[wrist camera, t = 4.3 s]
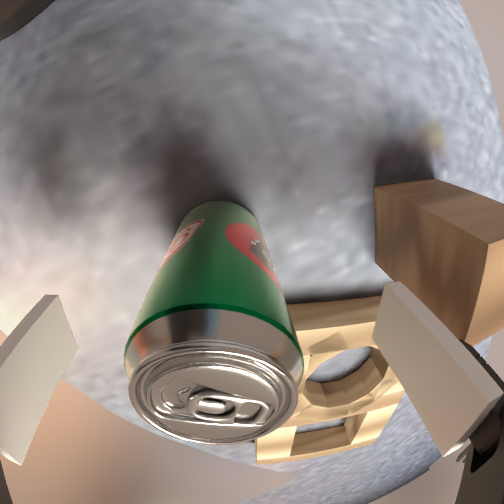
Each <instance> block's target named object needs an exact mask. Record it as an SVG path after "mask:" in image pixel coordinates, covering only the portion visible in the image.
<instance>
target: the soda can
mask: <svg viewBox="0 0 504 504" xmlns="http://www.w3.org/2000/svg"><path fill="white" fill-rule="evenodd" d="M124 365H125V369H126V372H127V375H128V378H129V384H128V390H129V397H130V400H131V403H132V405H133V407H134V408H135V410H136V411H137V413H138V414H139V415H140V416H141V417H142V418H143V419H144V420H145V421H146V422H148V423H149V424H150V425H152V426H153V427H155V428H156V429H158V430H160V431H162V432H163V433H165V434H168V435H170V436H173V437H175V438H178V439H181V440H185V441H189V442H194V443H200V444H209V445H227V444H236V443H242V442H247V441H251V440H254V439H257V438H260V437H263V436H265V435H267V434H270V433H271V432H273V431H275V430H276V429H278V428H279V427H281V426H282V425H283V424H284V423H286V421H287V420H288V419H289V418H290V417H291V416H292V414H293V413H294V411H295V409H296V406H297V403H298V393H299V392H298V386H299V384H300V382H301V380H302V376H303V373H304V358H303V353H302V349H301V346H300V343H299V340H298V337H297V334H296V331H295V328H294V325H293V322H292V319H291V316H290V313H289V311H288V308H287V305H286V302H285V299H284V296H283V293H282V290H281V287H280V284H279V281H278V278H277V275H276V272H275V269H274V267H273V264H272V261H271V258H270V255H269V252H268V249H267V246H266V243H265V241H264V238H263V235H262V232H261V229H260V227H259V224H258V222H257V221H256V219H255V218H254V217H253V215H252V214H251V213H250V212H249V211H247V210H246V209H245V208H243V207H241V206H240V205H238V204H235V203H232V202H228V201H211V202H207V203H204V204H201V205H199V206H197V207H196V208H194V209H193V210H191V211H190V212H189V213H188V214H187V215H186V217H185V218H184V219H183V221H182V223H181V225H180V226H179V228H178V230H177V232H176V234H175V236H174V238H173V240H172V242H171V244H170V246H169V248H168V251H167V253H166V255H165V257H164V259H163V261H162V263H161V265H160V267H159V269H158V272H157V274H156V276H155V278H154V280H153V282H152V285H151V287H150V289H149V291H148V294H147V296H146V298H145V300H144V303H143V305H142V307H141V310H140V312H139V314H138V317H137V319H136V321H135V324H134V326H133V329H132V331H131V333H130V336H129V338H128V341H127V343H126V347H125V352H124Z"/></svg>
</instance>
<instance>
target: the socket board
mask: <svg viewBox="0 0 504 504" xmlns="http://www.w3.org/2000/svg"><path fill="white" fill-rule="evenodd" d="M381 298H382V295H381V296H373V297H364V298H355V299H345V300H335V301H325V302H313V303H301V304H288V305H287V308H288V311H289V313H290V316H291V319H292V322H293V325H294V328H295V331H296V334H297V337H298V340H299V343H300V346H301V349H302V353H303V358H304V373H303V376H302V380H301V382H300V384H299V386H298V392H299V393H298V403H297V406H296V409H295V411H294V413H293V414H292V416H291V417H290V418H289V419H288V420H287V421H286V423H284V424H283V425H282V426H281V427H279V428H278V429H276V430H275V431H273V432H271V433H270V434H267V435H265V436H263V437H260V438H257V439H255V452H256V461H257V465H258V464H269V463H278V462H286V461H294V460H300V459H307V458H312V457H318V456H323V455H328V454H333V453H337V452H341V451H346V450H350V449H354V448H357V447H361V446H365V445H368V444H372V443H374V442H375V440H376V439H377V437H378V436H379V434H380V433H381V431H382V429H383V428H384V426H385V425H386V423H387V421H388V420H389V418H390V417H391V415H392V413H393V411H394V410H395V408H396V406H397V404H398V403H399V401H400V399H401V397H402V395H403V394H404V392H405V390H404V388H403V387H402V385H401V383H400V382H399V380H398V378H397V377H396V375H395V374H394V372H393V370H392V369H391V367H390V366H389V364H388V362H387V361H386V359H385V358H384V356H383V355H382V353H381V351H380V350H379V348H378V347H377V345H376V344H375V342H374V341H373V339H372V334H373V330H374V326H375V322H376V319H377V315H378V310H379V306H380V302H381ZM366 346H371V347H373V349H372V352H371V355H370V357H369V358H368V360H367V361H366V362H365V363H364V364H363V365H362V366H361V367H360V368H359V369H358V370H357V371H355V372H354V373H352V374H350V375H348V376H346V377H344V378H342V379H340V380H337V381H331V382H325V383H317V382H314V381H310V380H306V379H307V378H308V377H309V376H310V375H311V374H312V372H313V371H314V370H315V369H316V368H317V367H318V366H319V365H320V364H321V363H322V362H324V361H326V360H328V359H330V358H331V357H333V356H335V355H337V354H339V353H341V352H343V351H344V350H348V349H354V348H360V347H366ZM344 417H347V418H346V421H345V423H344V425H342V426H337V427H332V428H327V429H322V430H316V431H310V432H304V433H297V434H295V431H296V427H297V426H300V425H306V424H313V423H319V422H324V421H330V420H335V419H340V418H344Z"/></svg>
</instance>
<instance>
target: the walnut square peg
mask: <svg viewBox="0 0 504 504" xmlns="http://www.w3.org/2000/svg"><path fill="white" fill-rule="evenodd" d="M373 188H374V205H375V234H376V264H377V265H378V266H379V267H380V268H381V269H382V270H383V271H384V272H385V273H386V274H387V275H388V276H389V277H390V278H391V279H392V280H393V281H394V282H396V281H400V282H401V283H403V284H404V285H405V286H406V287H407V288H408V289H409V290H410V291H411V292H412V293H413V294H414V295H415V296H416V297H417V298H418V299H419V300H420V301H421V302H422V303H423V304H424V305H425V306H426V307H427V308H428V309H429V310H430V311H431V312H432V313H433V314H434V315H435V316H436V317H437V318H438V319H439V320H440V321H441V322H442V323H443V324H444V325H445V326H446V327H447V328H448V329H449V330H450V331H451V332H452V333H453V334H454V335H455V337H456V338H457V339H462V340H463V341H465V342H467V343H468V344H470V345H471V346H474V345H476V344H478V343H479V342H481V341H483V340H484V339H486V338H488V337H489V336H491V335H493V334H494V333H496V332H497V331H499V330H500V329H502V328H503V327H504V204H502V203H500V202H497V201H495V200H493V199H490V198H488V197H485V196H483V195H480V194H477V193H475V192H472V191H469V190H467V189H464V188H461V187H458V186H455V185H452V184H450V183H447V182H443V181H440V180H437V179H429V180H421V181H413V182H405V183H398V184H390V185H383V186H377V187H373Z"/></svg>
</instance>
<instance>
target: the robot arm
mask: <svg viewBox="0 0 504 504" xmlns="http://www.w3.org/2000/svg"><path fill="white" fill-rule="evenodd" d="M52 1H53V0H0V40H2V39H4V38H6V37H8V36H10V35H11V34H13V33H14V32H16V31H17V30H19V29H20V28H21V27H23V26H24V25H25V24H27V23H28V22H29V21H30V20H32V19H33V18H34V17H35V16H36V15H38V14H39V13H40V12H41V11H42V10H43V9H44V8H45V7H47V6H48V5H49V4H50V3H51V2H52ZM372 339H373V341H374V342H375V344H376V345H377V347H378V348H379V350H380V351H381V353H382V355H383V356H384V358H385V359H386V361H387V362H388V364H389V366H390V367H391V369H392V370H393V372H394V374H395V375H396V377H397V378H398V380H399V382H400V383H401V385H402V387H403V388H404V390H405V392H406V393H407V395H408V397H409V398H410V400H411V402H412V403H413V405H414V407H415V408H416V410H417V412H418V414H419V415H420V417H421V419H422V421H423V422H424V424H425V426H426V428H427V429H428V431H429V433H430V435H431V436H432V438H433V440H434V442H435V444H436V446H437V447H438V449H439V451H440V453H441V455H442V457H444V456H446V455H448V454H450V453H451V452H453V451H455V450H457V449H459V448H460V447H461V446H462V445H463V444H464V443H465V441H466V440H467V439H468V438H469V439H470V440H471V444H470V445H469V446H468V447H467V448H466V449H465V450H464V451H463V452H462V453H461V454H460V455H459V456H458V458H457V460H456V462H459V461H460V460H461V459H462V458H463V457H464V456H465V455H466V454H467V456H466V458H465V459H464V460H463V461H462V462H463V463H465V466H464V471H463V475H462V480H461V484H460V488H459V491H458V495H457V499H456V502H455V504H504V382H503V381H502V380H501V378H500V377H499V376H498V375H497V374H496V373H495V371H494V370H493V369H492V368H491V367H490V366H489V364H486V361H485V360H484V359H483V358H482V357H480V354H479V353H478V352H477V351H476V350H475V349H474V348H473V347H472V346H471V345H470V344H468V343H467V342H465V341H463V340H462V339H457V338H456V337H455V335H454V334H453V333H452V332H451V331H450V330H449V329H448V328H447V327H446V326H445V325H444V324H443V323H442V322H441V321H440V320H439V319H438V318H437V317H436V316H435V315H434V314H433V313H432V312H431V311H430V310H429V309H428V308H427V307H426V306H425V305H424V304H423V303H422V302H421V301H420V300H419V299H418V298H417V297H416V296H415V295H414V294H413V293H412V292H411V291H410V290H409V289H408V288H407V287H406V286H405V285H404V284H403V283H401V282H400V281H396V282H387V283H385V284H384V289H383V293H382V298H381V302H380V306H379V310H378V315H377V319H376V322H375V326H374V330H373V334H372ZM77 349H78V346H77V343H76V341H75V338H74V336H73V334H72V331H71V329H70V326H69V323H68V321H67V318H66V315H65V313H64V310H63V307H62V304H61V301H60V298H59V295H45V296H44V297H43V298H42V299H41V300H40V301H39V302H38V303H37V304H36V305H35V306H34V307H33V309H32V310H31V311H30V312H29V313H28V314H27V315H26V316H25V318H24V319H23V320H22V321H21V322H20V323H19V324H18V326H17V327H16V328H15V329H14V330H13V331H12V333H11V334H10V335H9V336H8V338H7V339H6V340H5V341H4V343H3V344H2V345H1V346H0V452H1V453H2V454H3V455H4V456H5V457H6V458H7V459H9V460H11V461H13V462H15V463H17V464H19V465H21V466H22V464H23V461H24V458H25V456H26V453H27V451H28V448H29V446H30V443H31V441H32V438H33V436H34V434H35V431H36V429H37V427H38V425H39V423H40V420H41V418H42V416H43V414H44V412H45V410H46V408H47V405H48V404H49V401H50V399H51V397H52V395H53V393H54V391H55V389H56V388H57V385H58V384H59V382H60V380H61V378H62V376H63V374H64V372H65V371H66V369H67V367H68V365H69V363H70V361H71V360H72V358H73V356H74V354H75V353H76V351H77ZM0 504H13V503H12V500H11V497H10V494H9V491H8V487H7V484H6V480H5V477H4V473H3V469H2V465H1V461H0Z"/></svg>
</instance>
